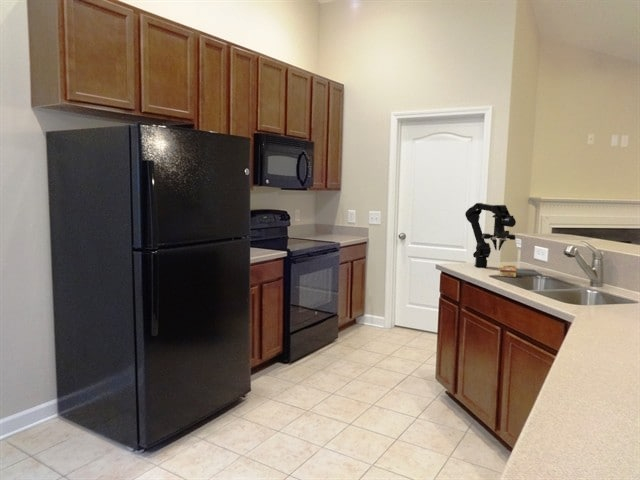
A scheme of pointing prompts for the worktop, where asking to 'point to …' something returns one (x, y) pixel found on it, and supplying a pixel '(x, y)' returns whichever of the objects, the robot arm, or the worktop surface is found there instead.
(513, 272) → the candy box
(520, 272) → the mat
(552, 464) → the worktop surface
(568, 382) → the worktop surface
